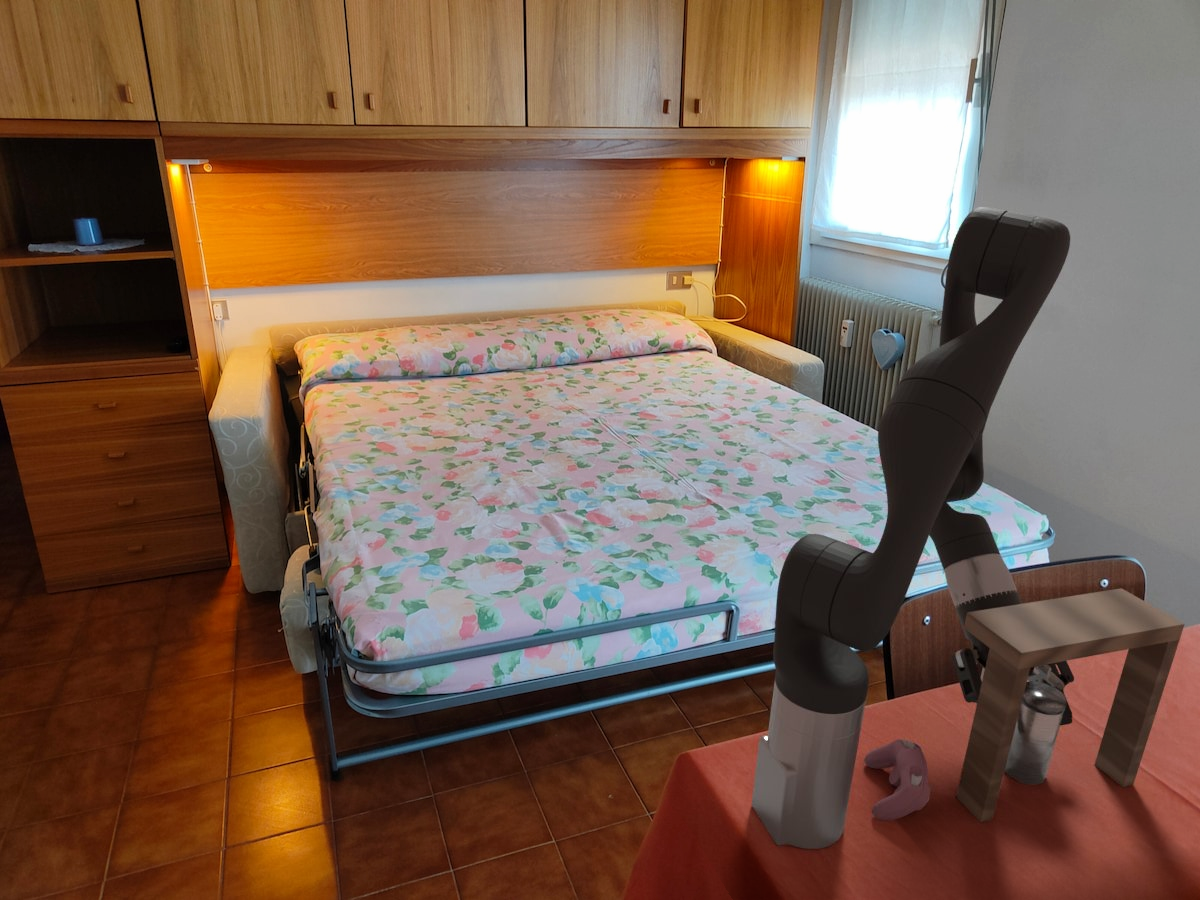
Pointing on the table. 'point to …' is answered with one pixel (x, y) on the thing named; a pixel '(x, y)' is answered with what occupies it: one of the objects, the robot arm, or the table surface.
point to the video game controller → (901, 778)
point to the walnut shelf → (1059, 637)
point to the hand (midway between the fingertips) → (1036, 730)
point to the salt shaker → (1035, 733)
